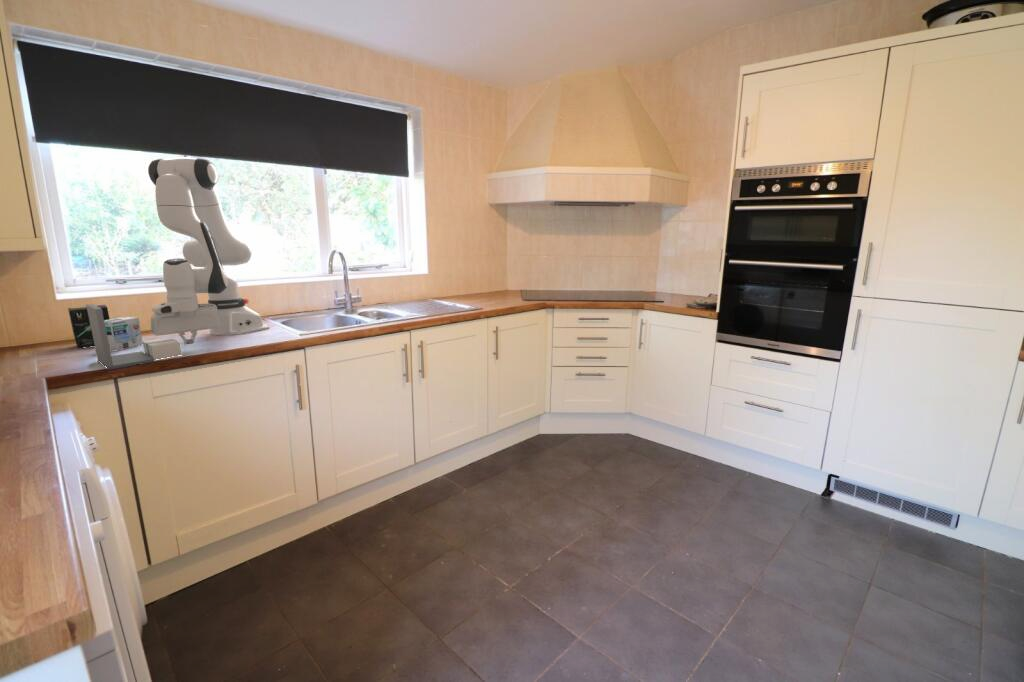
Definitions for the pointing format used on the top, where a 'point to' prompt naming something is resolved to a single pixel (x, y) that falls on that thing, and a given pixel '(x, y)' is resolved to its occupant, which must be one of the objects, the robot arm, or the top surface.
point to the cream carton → (162, 348)
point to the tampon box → (84, 325)
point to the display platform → (103, 344)
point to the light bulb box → (123, 332)
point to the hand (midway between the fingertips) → (189, 343)
